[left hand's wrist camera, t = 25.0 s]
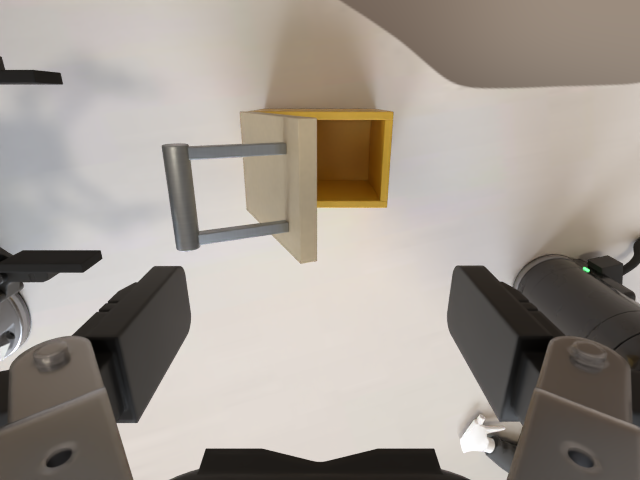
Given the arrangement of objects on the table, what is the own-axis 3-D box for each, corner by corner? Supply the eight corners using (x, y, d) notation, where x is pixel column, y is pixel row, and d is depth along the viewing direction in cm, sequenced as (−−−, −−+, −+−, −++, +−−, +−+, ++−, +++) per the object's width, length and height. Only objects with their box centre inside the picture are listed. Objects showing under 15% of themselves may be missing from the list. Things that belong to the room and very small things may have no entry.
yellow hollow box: (376, 109, 44) (393, 111, 34) (372, 184, 47) (387, 207, 37) (264, 108, 44) (247, 111, 34) (267, 184, 47) (253, 207, 37)
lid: (317, 117, 21) (160, 120, 18) (317, 261, 25) (183, 285, 21) (252, 111, 33) (150, 112, 30) (258, 208, 36) (166, 219, 33)
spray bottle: (568, 488, 66) (446, 448, 63) (607, 447, 62) (480, 401, 59) (578, 505, 63) (452, 464, 60) (620, 463, 60) (487, 416, 57)
